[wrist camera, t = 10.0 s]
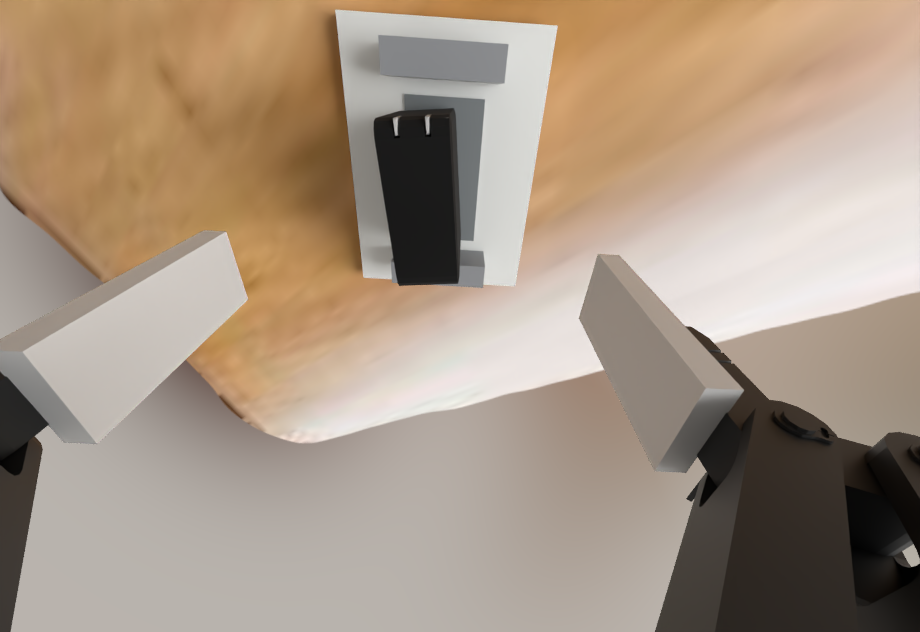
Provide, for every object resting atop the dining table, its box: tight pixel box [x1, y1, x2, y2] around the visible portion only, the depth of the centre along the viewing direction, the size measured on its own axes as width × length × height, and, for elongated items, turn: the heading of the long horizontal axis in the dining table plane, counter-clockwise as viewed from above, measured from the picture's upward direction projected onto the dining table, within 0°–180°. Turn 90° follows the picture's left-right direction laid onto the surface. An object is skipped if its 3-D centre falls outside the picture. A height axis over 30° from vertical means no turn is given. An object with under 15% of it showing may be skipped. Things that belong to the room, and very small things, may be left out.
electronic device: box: [373, 108, 461, 286], centre depth 25 cm, size 4×10×10 cm, turn 2°
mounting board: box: [335, 10, 557, 288], centre depth 28 cm, size 20×15×5 cm
